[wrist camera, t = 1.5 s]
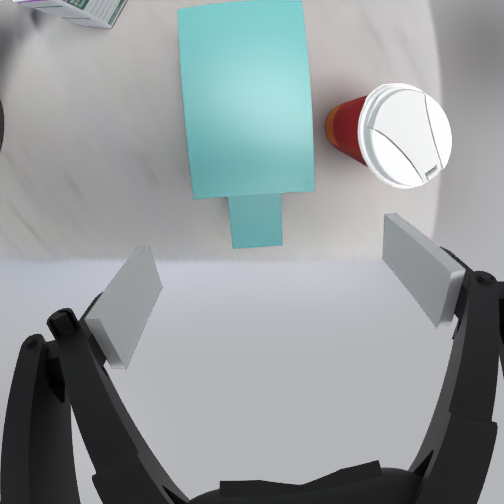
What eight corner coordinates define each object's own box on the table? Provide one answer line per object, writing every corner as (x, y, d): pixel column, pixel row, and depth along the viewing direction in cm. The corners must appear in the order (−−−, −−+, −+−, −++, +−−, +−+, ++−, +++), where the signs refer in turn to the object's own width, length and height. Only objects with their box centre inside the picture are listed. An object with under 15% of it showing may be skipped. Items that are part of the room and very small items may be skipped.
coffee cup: (391, 139, 31) (469, 158, 17) (341, 174, 33) (399, 214, 19) (354, 81, 28) (423, 63, 14) (300, 117, 30) (340, 115, 16)
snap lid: (303, 222, 32) (314, 243, 27) (208, 228, 32) (201, 250, 27) (292, 20, 22) (301, 0, 17) (190, 27, 22) (177, 9, 17)
